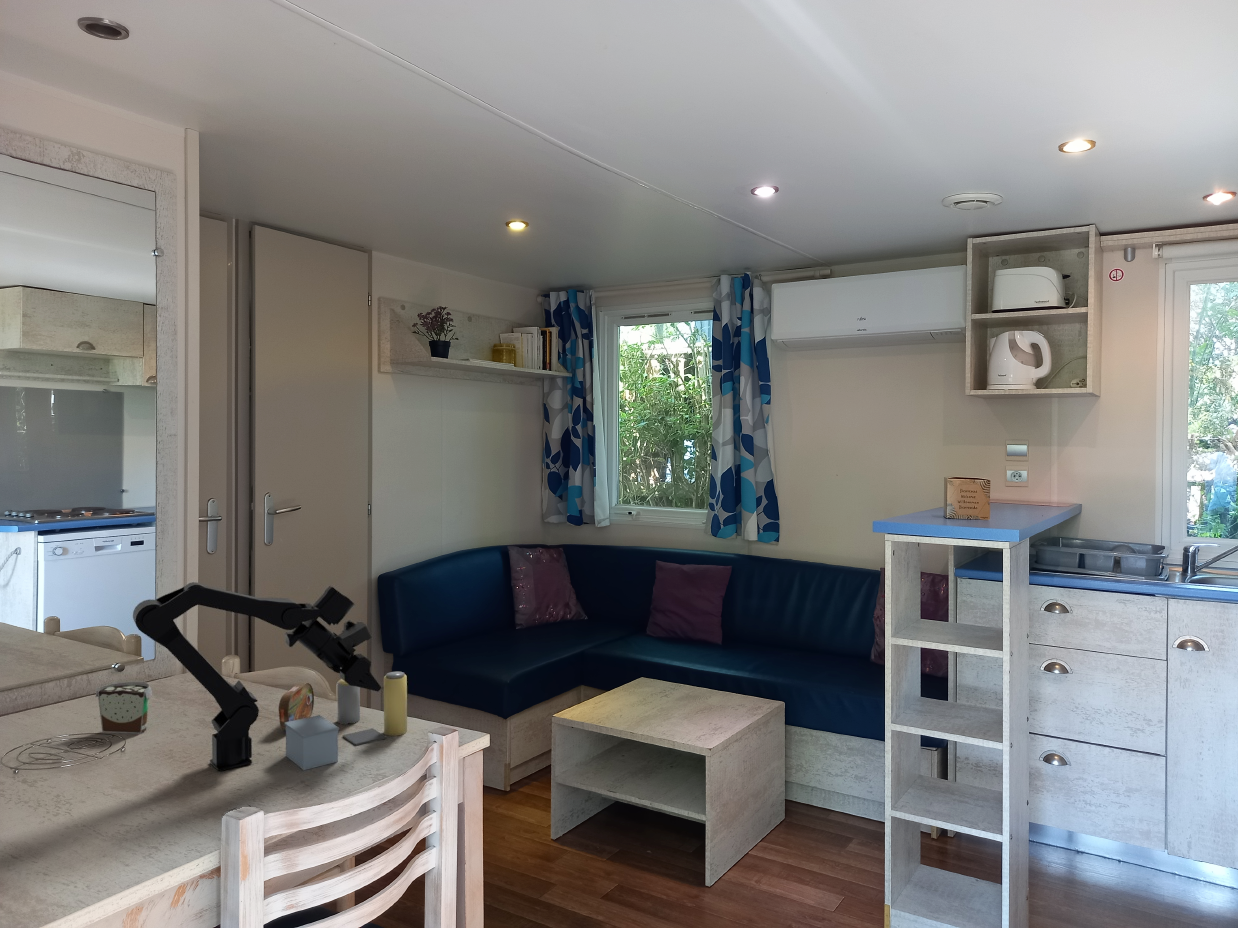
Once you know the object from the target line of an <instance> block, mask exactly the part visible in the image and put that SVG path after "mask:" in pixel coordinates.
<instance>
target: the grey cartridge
mask: <svg viewBox="0 0 1238 928" xmlns="http://www.w3.org/2000/svg"><path fill="white" fill-rule="evenodd" d="M336 685H337V686H336V687H337V688H336V689H337V691H336V693H337V695H336V696H337V698H336V699H337V723H338V724H339V723H340V725H349V724H348V723H353V724H355V723H354V722H357V721H359V720H360V721H361V687H356V686H350V685H349V684H348V683H346V682H345V681H344V680H343V679H342V678H340V679H339V681H338V682H337V684H336ZM360 721H359V722H360ZM357 723H358V722H357Z"/></svg>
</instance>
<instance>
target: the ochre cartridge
mask: <svg viewBox="0 0 1238 928" xmlns="http://www.w3.org/2000/svg"><path fill="white" fill-rule="evenodd" d="M407 680H408V679H407V675H406V674H405V672H402V671H391V672H387V673H386V674H385V676H384V677H383V735H385V736H400V735H404V734H406V733H407V732H408V698H407V697H408V695H407V694H408V685H407V683H408V681H407Z"/></svg>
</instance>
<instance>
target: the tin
mask: <svg viewBox="0 0 1238 928" xmlns="http://www.w3.org/2000/svg"><path fill="white" fill-rule="evenodd" d="M314 695H315V694H314V688H313V686H312V685H311V683H309V682H305V683H297V684H295V685H294V686H293V687H292V688H290V689H289V690H288V691H287V692H285V693H284V694H283V695H281V698H280V700H279V703H278V718H279V725H280V728H281V729H282V730H284V731H286V726H285V725H284V723H285V722H289V721H294V720H299V719H304V718H308V717H312V714H313V710H314V705H315V696H314Z"/></svg>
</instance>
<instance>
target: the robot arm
mask: <svg viewBox="0 0 1238 928" xmlns="http://www.w3.org/2000/svg"><path fill="white" fill-rule="evenodd" d="M196 606H202V607H207V608H212V609H216V610H221V611H226V612H230V613H236V614H240V615H245V616H250V617H254V618H257V619H259V620H262V622H263V621H264V622H266V623H268V624H270V625H273V626H275V627H278V628H280V629H282V630H285V631H287V632H285V633H284V635H285V644H286V645H287V646H288V647H289V648H293V646H294V645H296V643H297V642H298V643H299V644H301V645H302V646H303V647H304V648H305V649H307V650H308V651H309V652H310V653H311V654H313V655H314V656H315V657H316V658H317V659H319V660H320V661H321V662H322V664H323V665H325V666H326V667H327V668H328V669H330V670H332V672H333V673H336V674H339V677H340V679H343V680H344V681H345V682H346V683H348V684H349V685H350V686H356V687H360V689H366V690H370V691H374V692H380V690H382V686H381V685H380V684H379V682H378V680H376V678H375V676H374V675H373V673H372V672H371V666H372V661H371V660H369V658H367V657H366V656H365V655H363V654H362V653H356V654H355V652H356V651H357V650H356V649H355V647H358V646H359V645H361V644H363V643H364V642H366V641H369V640H371V639H372V638H373V636H372V634H371V631H370V630H369V628H368V625H367V624H366V623H364V622H362V621H356V623H355V622H354V621H351V620H350V619H349V620H347V621H345V622H344V623H343V630H342V631H341V633H339V634H337V633H335V632H332V631H331V630H330V629H329V628H327V627H326V626H325V625H324V624H323V623H322V622H324V623H325V624H326V625H328V626H329V627H330V626H332V625H333V626H335V625H336V626H337V625H339V623H340V622H342V620H343V619H344V618H345V617H346V616H347V614H349V612H350V611H351V610H352V609H353V608H354V607H355V606H356V604H355V603H354V602H353V601H352V600H351V599H350V598H349V597H348V596H346V595H344V594H343V593H341V592H340V591H338V589H336V588H335V587H333V586H332V585H329V586H328V587H327V588H326V589H325V590H324V592H323V593H322V594H321V596H320V597H319V598H318V599H317V600H316V601H315V603H313V604H311V603H309V602H305V603H304V602H300V603H299V602H296V601H294V600H293V599H291V598H287V597H286V598H284V597H283V598H282V597H257V596H253V595H248V594H243V593H239V592H234V591H230V590H225V589H222V588H217V587H213V586H208V585H204V584H201V583H199V582H197V581H196V582H195V581H193V582H189V583H188V584H185V585H184V586H182V587H181V588H178V589H175V590H173V591H171V592H169V593H166V594H164V595H161V596H159V597H158V598H156V599H145V600H143V601H141V602H139V603H138V604H137V605H136V606H135V607H134V609H133V612H132V619H133V622H134V624H135V625H136V628H137V629H138V631H140V632H141V633H142V634H144V635H145V636H146V637H148V638H150V639H151V640H152V641H154V642H155V643H157V644H159V645H161V646H162V647H164V648H165V649H167V650H168V651H169V652H170V653H171V654H172V655H173V657H175V659H176V660H177V661H179V662H180V664H181V665H182V666H183V667H184V668H185V669H186V670H187V671H188V672H189V673H190V674H191V675H192V676H193V678H194V679H196V681H198V682H199V683H200V684H201V685H202V686H203V688H204V689H206V691H207V692H208V693H209V694H211V696H212V697H213V698H214V699H215V701H216V703H217V705H218V706H219V708H220V709H221V710H219V712H218V713H217V714H216V715H215V716H214V717H213V718H212V719H211V723H212V726H213V728H214V730H215V731H216V733H213V734H211V746H212V748H211V749H212V750H211V751H212V752H211V754H212V755H211V756H212V757H211V758H212V759H210V760H209V763H210V765H212V767H214V768H215V769H216V771H218V772H221V771H222V772H223V771H226V770H229V769H233V768H234V769H235V768H238V767H243V766H247V765H252V764H253V760H252V759H251V758H252V757H253V754H252V753H253V751H252V749H253V745H252V742H253V740H252V737H251V736H250V729H251V726H252V725H253V724H254V723H255V722H256V721H257V720H258V717H259V712H260V709H259V707H258V705H257V704H256V703H257V702H258V701H259V700H258V699H257V698H256V697H255V695H254V694H253V693H252V692H251V691H249V690H247V688H246V686H244V684H243V683H242V682H241V680H237V682H236V683H235V684H233V683H231V682H229V681H228V680H227V679H225V678H224V676H222V675H221V673H220V672H219V671H218V670H217V669H216V668H215V667H214V666H213V665H212V664H211V663H210V662H209V661H208V660H207V658H206V657H204V655H202V653H200V651H199V650H198V649H197V648H196V647H195V646H194V645H193V644H192V643H191V642H190V641H189V640H188V639H187V638H186V636H185V635H184V634H183V633H182V632H181V630H180V629H179V627H178V626H177V624H176V622H175V621H174V620H175V619H178V618H179V617H181V616H182V615H184V614H185V613H187V612H188V611H190V610H191V609H192V608H194V607H196ZM318 619H320V620H321V621H322V622H320V621H319V620H318Z"/></svg>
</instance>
